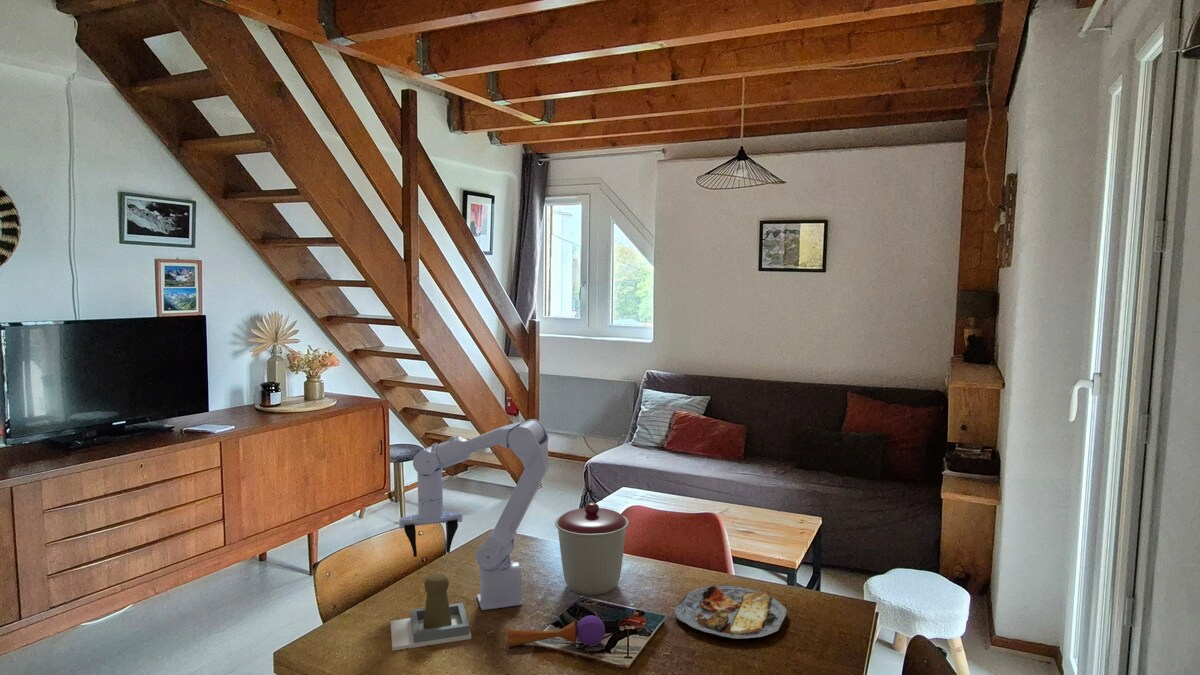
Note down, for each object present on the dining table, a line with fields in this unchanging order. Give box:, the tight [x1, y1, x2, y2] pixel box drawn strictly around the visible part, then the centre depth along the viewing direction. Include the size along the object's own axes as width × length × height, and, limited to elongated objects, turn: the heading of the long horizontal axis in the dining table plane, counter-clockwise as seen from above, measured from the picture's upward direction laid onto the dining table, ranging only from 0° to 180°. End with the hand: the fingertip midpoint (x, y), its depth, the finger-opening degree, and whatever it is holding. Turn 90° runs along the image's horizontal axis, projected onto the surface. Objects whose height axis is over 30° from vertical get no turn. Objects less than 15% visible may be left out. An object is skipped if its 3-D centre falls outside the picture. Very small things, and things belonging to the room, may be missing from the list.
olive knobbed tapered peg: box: [423, 573, 452, 629], centre depth 156 cm, size 6×6×11 cm
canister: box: [554, 502, 630, 596], centre depth 177 cm, size 18×18×21 cm
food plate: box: [674, 584, 788, 640], centre depth 161 cm, size 25×23×4 cm
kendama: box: [507, 614, 606, 648], centre depth 149 cm, size 6×6×20 cm
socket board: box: [390, 602, 472, 652], centre depth 155 cm, size 16×12×3 cm
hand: (431, 553), depth 172 cm, fingers open, 7 cm apart
